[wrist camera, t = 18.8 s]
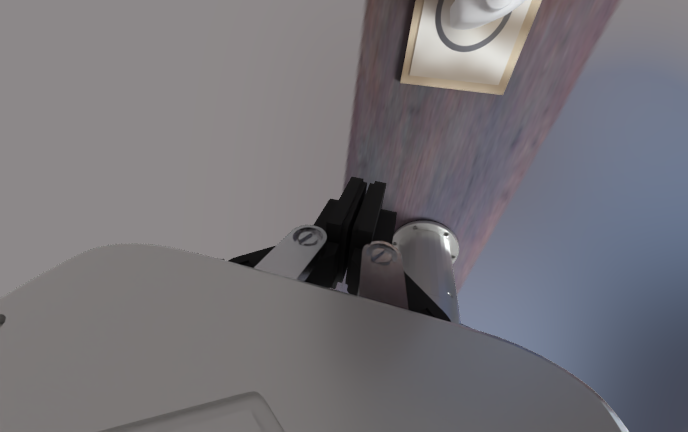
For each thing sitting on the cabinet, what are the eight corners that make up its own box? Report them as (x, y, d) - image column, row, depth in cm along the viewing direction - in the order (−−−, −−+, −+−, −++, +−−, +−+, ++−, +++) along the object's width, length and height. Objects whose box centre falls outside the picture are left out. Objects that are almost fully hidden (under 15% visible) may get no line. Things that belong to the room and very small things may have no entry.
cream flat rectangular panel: (500, 93, 32) (503, 95, 31) (400, 82, 34) (400, 83, 33) (578, -98, 22) (585, -105, 21) (434, -97, 25) (434, -104, 24)
